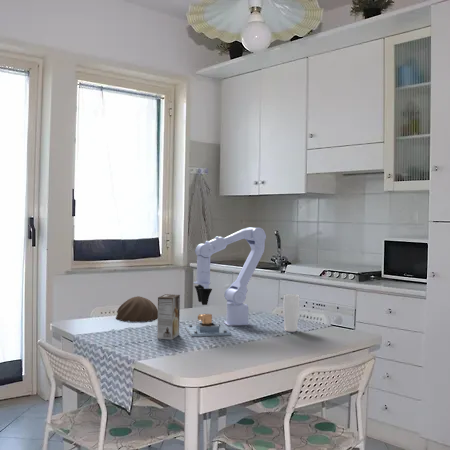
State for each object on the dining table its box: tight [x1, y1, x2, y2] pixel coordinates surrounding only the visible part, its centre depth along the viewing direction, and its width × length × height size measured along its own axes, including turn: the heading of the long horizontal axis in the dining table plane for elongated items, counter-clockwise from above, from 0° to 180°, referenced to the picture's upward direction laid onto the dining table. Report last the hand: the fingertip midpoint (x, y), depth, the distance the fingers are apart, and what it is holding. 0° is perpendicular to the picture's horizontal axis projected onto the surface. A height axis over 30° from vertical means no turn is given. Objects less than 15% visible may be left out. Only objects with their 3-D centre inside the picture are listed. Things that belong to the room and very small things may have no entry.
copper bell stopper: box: [197, 313, 213, 326], centre depth 228 cm, size 6×4×6 cm, turn 51°
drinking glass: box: [282, 293, 301, 333], centre depth 232 cm, size 7×7×15 cm
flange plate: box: [184, 321, 232, 337], centre depth 227 cm, size 16×16×3 cm
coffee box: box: [156, 293, 181, 341], centre depth 216 cm, size 9×6×16 cm
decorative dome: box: [115, 295, 158, 323], centre depth 254 cm, size 19×20×10 cm
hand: (202, 303), depth 237 cm, fingers open, 7 cm apart
